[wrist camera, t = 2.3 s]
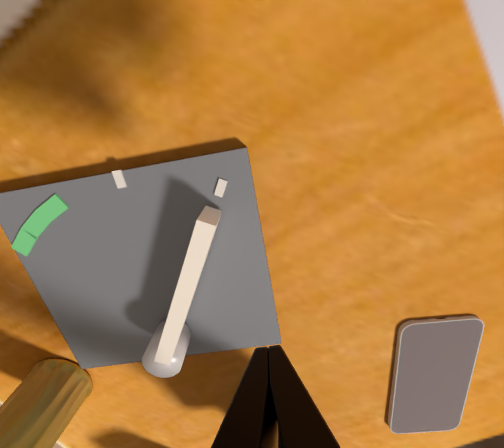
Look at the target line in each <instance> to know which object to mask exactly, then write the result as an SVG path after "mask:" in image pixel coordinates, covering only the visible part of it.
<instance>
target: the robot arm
mask: <svg viewBox="0 0 504 448" xmlns="http://www.w3.org/2000/svg"><path fill="white" fill-rule="evenodd" d="M211 448H340V446H339V444H338V442H337V441H336V439H335V437H334V435H333V434H332V432H331V430H330V429H329V427H328V425H327V424H326V422H325V420H324V418H323V417H322V415H321V413H320V412H319V410H318V408H317V406H316V405H315V403H314V401H313V400H312V398H311V396H310V395H309V393H308V391H307V389H306V388H305V386H304V384H303V383H302V381H301V379H300V377H299V376H298V374H297V372H296V371H295V369H294V367H293V366H292V364H291V362H290V360H289V359H288V357H287V355H286V354H285V352H284V350H283V349H282V347H281V346H280V345H274V346H269V347H259V348H256V349H255V350H254V352H253V355H252V357H251V359H250V361H249V364H248V366H247V368H246V370H245V373H244V375H243V377H242V379H241V381H240V384H239V386H238V388H237V390H236V393H235V395H234V397H233V399H232V402H231V404H230V406H229V408H228V411H227V413H226V415H225V417H224V420H223V422H222V424H221V426H220V428H219V431H218V433H217V435H216V437H215V440H214V442H213V444H212V446H211Z"/></svg>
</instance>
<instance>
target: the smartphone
mask: <svg viewBox="0 0 504 448" xmlns="http://www.w3.org/2000/svg"><path fill="white" fill-rule="evenodd" d="M483 330H484V323H483V321H482V320H480V319H479V318H478V317H476V316H472V315H469V316H461V317H460V316H458V317H457V316H456V317H445V319H436V318H431V319H427V320H426V319H424V320H423V319H421V320H420V319H419V320H410V321H407V322H405V323H403V324H402V325H401V326H400V327H399V329H398V335H397V343H396V352H395V361H394V369H393V378H392V386H391V394H390V403H389V412H388V421H387V422H388V425H389V427H390V430H391V431H392V432H393V433H395V434H407V433H422V432H437V431H450V430H453V429H455V428H457V427H458V426H459V424H460V422H461V418H462V414H463V410H464V406H465V402H466V398H467V394H468V390H469V386H470V382H471V378H472V374H473V370H474V366H475V362H476V358H477V354H478V350H479V346H480V342H481V338H482V334H483Z"/></svg>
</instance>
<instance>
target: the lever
mask: <svg viewBox="0 0 504 448" xmlns="http://www.w3.org/2000/svg"><path fill="white" fill-rule="evenodd" d="M221 213H222V211H220V210H218V209H215V208H212V207H209V206H205V208H204V209H203V211H202V212H201V214H200V215H199V217H198V219H197V220H196V224H195V227H194V230H193V234H192V237H191V240H190V244H189V247H188V250H187V254H186V257H185V260H184V264H183V267H182V270H181V273H180V277H179V280H178V283H177V287H176V290H175V293H174V297H173V300H172V303H171V307H170V310H169V313H168V317H167V320H165V321H163V322H161V323H160V324H159V325H158V327H157V329H156V331H155V333H154V335H153V337H152V339H151V341H150V343H149V345H148V347H147V349H146V351H145V353H144V355H143V357H142V365H143V367H144V369H145V370H146V371H147V372H148V373H150V374H152V375H154V376H156V377H161V378H168V377H172V376H175V375H176V374H178V373H179V372H180V370H181V367H182V364H183V361H184V358H185V354H186V351H187V348H188V345H189V341H190V338H191V331H190V329H189V327H188V326H187V325H186V324H185V320H186V317H187V314H188V311H189V308H190V305H191V302H192V299H193V296H194V293H195V291H196V288H197V285H198V282H199V279H200V276H201V273H202V270H203V267H204V264H205V261H206V258H207V255H208V252H209V249H210V246H211V243H212V240H213V237H214V234H215V231H216V228H217V225H218V222H219V219H220V216H221Z"/></svg>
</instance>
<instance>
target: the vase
mask: <svg viewBox="0 0 504 448" xmlns="http://www.w3.org/2000/svg"><path fill="white" fill-rule="evenodd" d="M91 391H92V380H91V378H90V376H89V374H88V373H87V372H86V371H85V370H84V369H82V368H81V367H80V366H79V365H77V364H75V363H73V362H70V361H67V360H64V359H46V360H43V361H41V362H39V363H37V364H35V365H34V366H33V367H32V369H31V370H30V372H29V373H28V375H27V376H26V378H25V379H24V380H23V381H22V383H21V384H20V385H19V386H18V387H17V388H16V390H15V391H14V392H13V393H12V394H11V395H10V396H9V398H8V399H7V400H6V401H5V402H4V403H3V405H2V406H1V407H0V448H52V447H53V446H54V444H55V443H56V441H57V440H58V438H59V437H60V435H61V434H62V432H63V431H64V430H65V428H66V427H67V425H68V424H69V422H70V421H71V419H72V418H73V416H74V415H75V413H76V412H77V410H78V409H79V407H80V406H81V405H82V403H83V402H84V401H85V399H86V398H87V397H88V396H89V395H90V393H91Z"/></svg>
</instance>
